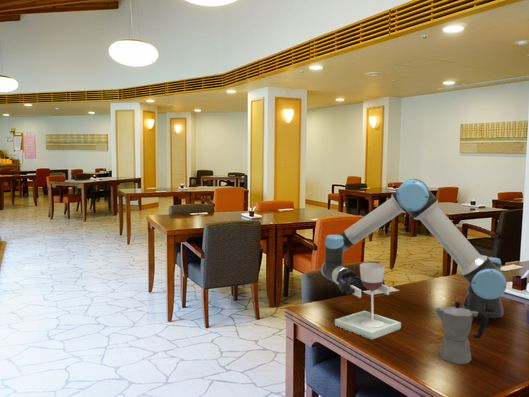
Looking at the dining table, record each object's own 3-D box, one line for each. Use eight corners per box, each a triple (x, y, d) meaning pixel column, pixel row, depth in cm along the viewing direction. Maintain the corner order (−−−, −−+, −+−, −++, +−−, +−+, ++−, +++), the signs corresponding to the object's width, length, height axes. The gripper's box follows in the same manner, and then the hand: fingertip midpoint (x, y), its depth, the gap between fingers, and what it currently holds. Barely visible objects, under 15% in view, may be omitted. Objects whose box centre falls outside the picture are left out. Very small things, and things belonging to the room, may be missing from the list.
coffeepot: (431, 360, 142) (433, 303, 141) (434, 348, 151) (436, 295, 149) (486, 369, 136) (489, 310, 135) (486, 357, 145) (488, 301, 143)
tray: (400, 328, 169) (401, 322, 169) (371, 339, 158) (371, 332, 158) (364, 316, 182) (364, 310, 182) (334, 325, 171) (334, 319, 171)
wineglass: (380, 318, 176) (379, 262, 175) (388, 327, 167) (387, 268, 165) (357, 319, 176) (357, 263, 174) (364, 328, 167) (363, 269, 165)
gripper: (369, 284, 190) (401, 299, 169) (318, 289, 183) (345, 305, 162) (370, 266, 189) (402, 279, 169) (318, 270, 182) (345, 284, 161)
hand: (374, 292), depth 165 cm, fingers open, 11 cm apart
